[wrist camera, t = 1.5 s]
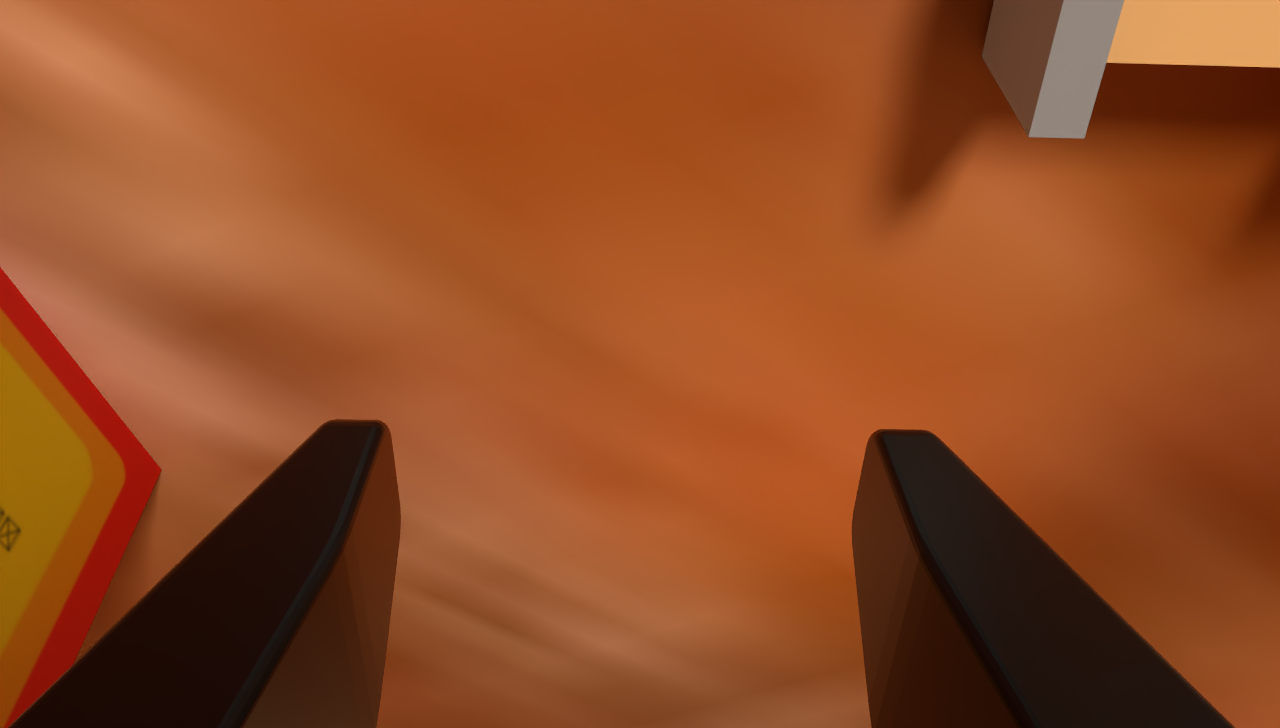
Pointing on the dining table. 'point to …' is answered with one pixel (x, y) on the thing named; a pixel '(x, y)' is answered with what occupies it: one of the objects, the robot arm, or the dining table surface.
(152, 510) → the dining table surface
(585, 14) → the dining table surface
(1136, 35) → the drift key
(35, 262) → the dining table surface
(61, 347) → the baking soda box
